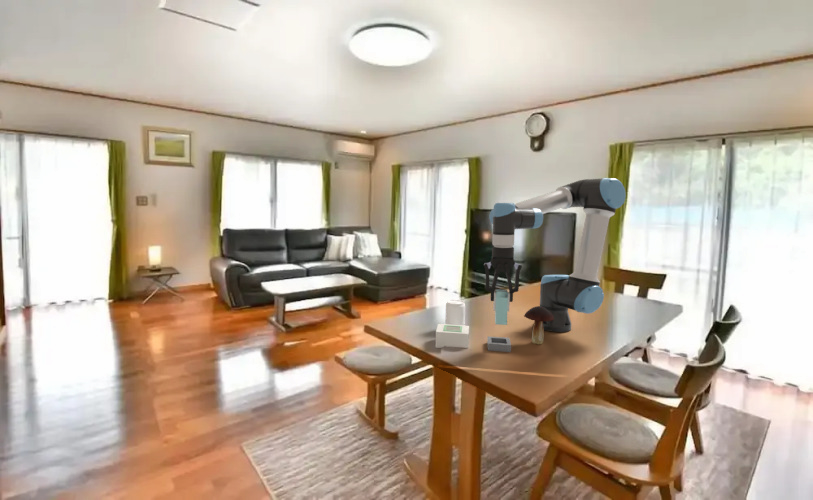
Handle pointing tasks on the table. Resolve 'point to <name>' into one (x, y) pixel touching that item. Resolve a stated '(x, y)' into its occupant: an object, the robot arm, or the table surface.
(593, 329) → the table surface
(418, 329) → the table surface
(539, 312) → the decorative mushroom
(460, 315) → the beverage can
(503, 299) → the light blue tall block
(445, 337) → the port block
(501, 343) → the holster
